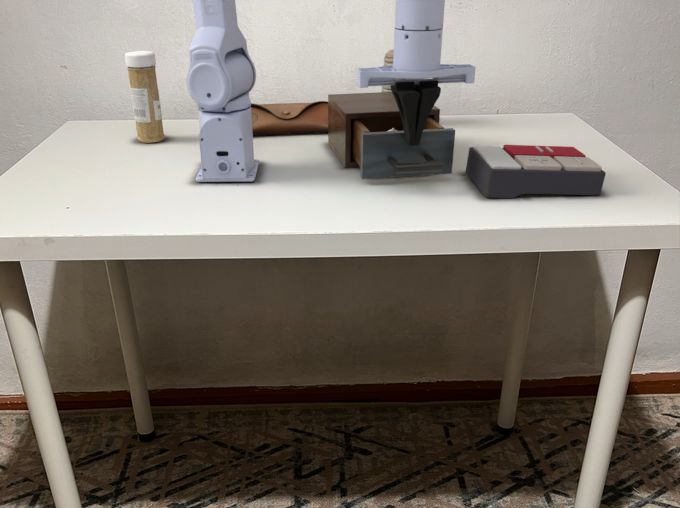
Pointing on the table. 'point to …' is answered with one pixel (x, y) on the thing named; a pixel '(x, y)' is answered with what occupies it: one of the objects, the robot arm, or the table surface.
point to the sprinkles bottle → (145, 96)
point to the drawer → (400, 148)
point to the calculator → (533, 171)
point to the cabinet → (358, 108)
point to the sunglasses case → (289, 118)
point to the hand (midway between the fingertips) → (412, 143)
